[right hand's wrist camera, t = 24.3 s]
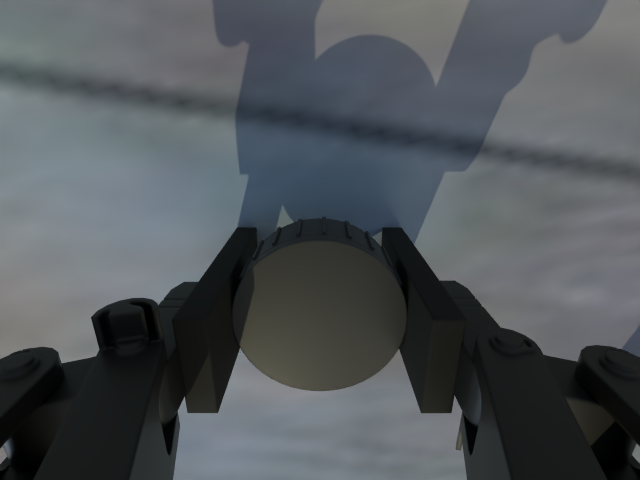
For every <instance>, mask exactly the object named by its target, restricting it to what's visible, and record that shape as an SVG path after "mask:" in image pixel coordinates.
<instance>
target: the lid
mask: <svg viewBox="0 0 640 480" xmlns="http://www.w3.org/2000/svg"><path fill="white" fill-rule="evenodd" d="M239 279H241V281H240V283H239V285H238V288H237V290H236V293H235V296H234V300H233V304H232V324H233V330H234V334H235V337H236V339H237V342H238V344H239V346H240V348H241V350H242V351H243V353H244V354H245V356H246V357H247V358H248V360H249V361H250V362H251V363H252V364H253V365H254V366H255V367H256V368H257V369H259V370H260V371H261V372H262V373H264V374H265V375H267V376H268V377H270V378H272V379H273V380H275V381H278V382H280V383H282V384H285V385H287V386H290V387H294V388H298V389H303V390H310V391H329V390H337V389H342V388H346V387H349V386H353V385H355V384H358V383H360V382H363V381H364V380H366V379H368V378H370V377H372V376H373V375H374V374H376V373H377V372H379V371H380V370H381V369H382V368H383V367H384V366H386V365H387V364H388V362H389V361H390V360H391V359H392V358H393V357H394V355H395V354H396V352H397V350H398V349H399V347H400V345H401V343H402V341H403V338H404V335H405V331H406V325H407V304H406V299H405V296H404V293H403V290H402V288H401V287H403V283H402V281H401V279H400V277H399V275H398V273H397V270H396V268H395V266H394V264H392V263H391V261H390V258H389V256H388V254H387V252H386V250H385V248H384V246H382V247H381V246H380V245H379V244H378V243H377V242H376V241H375V240H374V239H373V238H372V237H371V236H370V234H369V232H368V231H366V232H364V231H362V230H361V229H359V228H357V227H355V226H353V225H350V224H349V222H348V221H346V222H341V221H337V220H331V219H326V217H322V219H308V220H303V221H302V219H299V221H298V222H295V223H292V224H289V225H287V226H285V227H283V228H281V227H278V228H277V230H276V232H274V233H273V234H271V235H270V236H269V237H268V238H267V239H266V240H265V241H263V240H261V241H260V243H259V245H258V247H257V249H256V251H255V253H254V255H253V256H252V258H251V257H249V259H248V261H247V263H246V265H245V267H244V269H243V271H242V273H241V275H240V277H239Z"/></svg>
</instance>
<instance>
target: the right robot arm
mask: <svg viewBox="0 0 640 480" xmlns="http://www.w3.org/2000/svg"><path fill="white" fill-rule="evenodd" d="M382 246H384V248H385V250H386V252H387V254H388V256H389V258H390V261H391V263H392V264H394V266H395V268H396V270H397V273H398V275H399V277H400V279H401V281H402V283H403V287H401V288H402V290H403V293H404V296H405V299H406V304H407V325H406V331H405V335H404V338H403V341H402V343H401V345H400V347H399V349H400V352H401V355H402V358H403V361H404V364H405V367H406V370H407V373H408V376H409V379H410V382H411V385H412V388H413V391H414V394H415V396H416V399H417V402H418V405H419V408H420V411H421V413H451V412H452V406H453V400H454V395H455V397H456V399H457V401H458V403H459V405H460V407H461V409H462V417H461V422H460V427H459V433H458V438H457V444H456V450H461V446H462V444H463V451H464V459H465V467H466V474H467V480H640V463H639V462H638V461H637V460H636V459H635V458H634V456H633V455H632V453H633V451H634V449H635V446H636V444H638V445H639V447H640V358H639V357H637V356H635V355H633V354H630V353H629V352H627V351H625V350H622V349H619V348H618V349H617V348H615V347H610V346H600V345H593V346H586V347H585V348H584V349H583V350H581V353H580V356H579V359H578V362H576V361H571V360H566V359H561V358H555V357H550V356H546V355H543V353H542V351H541V349H540V348H539V347H538V346H537V344H536V343H535V342H534V341H532V340H531V339H529V338H528V337H527V336H525V335H523V334H520V333H518V332H516V331H513V330H509V329H505V328H500V326H499V325H498V324H497V323H496V322H495V320H494V319H493V318H492V317H491V316H490V314H489V313H488V312H487V311H486V310H485V309H484V307H481V304H480V303H479V301H478V300H477V299H475V297H474V295H473V294H472V293H471V292H470V291H469V290H468V288H466V287H464V286H463V285H461V284H459V283H458V282H456V281H439V279H438V278H437V277H436V275H435V274H434V272H433V271H432V270H431V268H430V267H429V265H428V264H427V263H426V261H425V260H424V258H423V257H422V256H421V254H420V253H419V251H418V250H417V249H416V247H415V246H414V244H413V243H412V242H411V240H410V239H409V237H408V236H407V235H406V233H405V232H404V230H403V229H402V228H383V231H382ZM382 246H381V247H382ZM256 249H257V234H256V228H237V229H236V230H235V232H234V233H233V234H232V236H231V237H230V239H229V240H228V241H227V243H226V244H225V246H224V247H223V248H222V250H221V251H220V253H219V254H218V255H217V257H216V258H215V260H214V261H213V262H212V264H211V265H210V267H209V268H208V269H207V271H206V272H205V274H204V275H203V276H202V278H201V279H200V281H199V282H183V283H182V284H180V285H178V286H177V287H175V288H173V289H172V290H171V291H170V292H169V293H168V294H167V296H166V297H165V298H164V300H162V302H161V303H160V304H159V305H158V304H157V303H156V302H155V301H153V300H151V299H146V298H131V299H126V300H121V301H118V302H115V303H112V304H109V305H107V306H105V307H104V308H102V309H100V310H98V311H97V312H96V313H95V314H94V315H93V316H92V317H91V319H92V323H93V326H94V330H95V334H96V338H97V342H98V345H99V349H100V350H99V352H98V354H97V356H96V357H92V358H87V359H82V360H77V361H72V362H67V363H61V360H60V357H59V354H58V352H57V351H56V350H54V349H53V348H47V347H38V348H29V349H24V350H23V351H21V350H20V351H17V352H14V353H12V354H11V355H9V356H6V357H4V358H2V359H0V448H1V447H2V446H3V448H4V450H5V452H6V454H7V458H6V459H5V460H4V461H3V462H2V463H1V464H0V480H173V475H174V467H175V460H176V452H177V445H178V437H179V429H180V423H179V417H178V409H179V407H180V405H181V403H182V400H183V398H184V396H185V400H186V406H187V412H188V413H218V411H219V408H220V405H221V402H222V399H223V396H224V393H225V390H226V387H227V385H228V382H229V379H230V376H231V373H232V370H233V367H234V364H235V361H236V358H237V355H238V352H239V349H240V346H239V344H238V342H237V339H236V337H235V334H234V330H233V324H232V304H233V300H234V296H235V293H236V290H237V288H238V285H239V283H240V281H241V279H239V277H240V275H241V273H242V271H243V269H244V267H245V265H246V263H247V261H248V259H249V257H251V258H252V256H253V255H254V253H255V251H256Z"/></svg>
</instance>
